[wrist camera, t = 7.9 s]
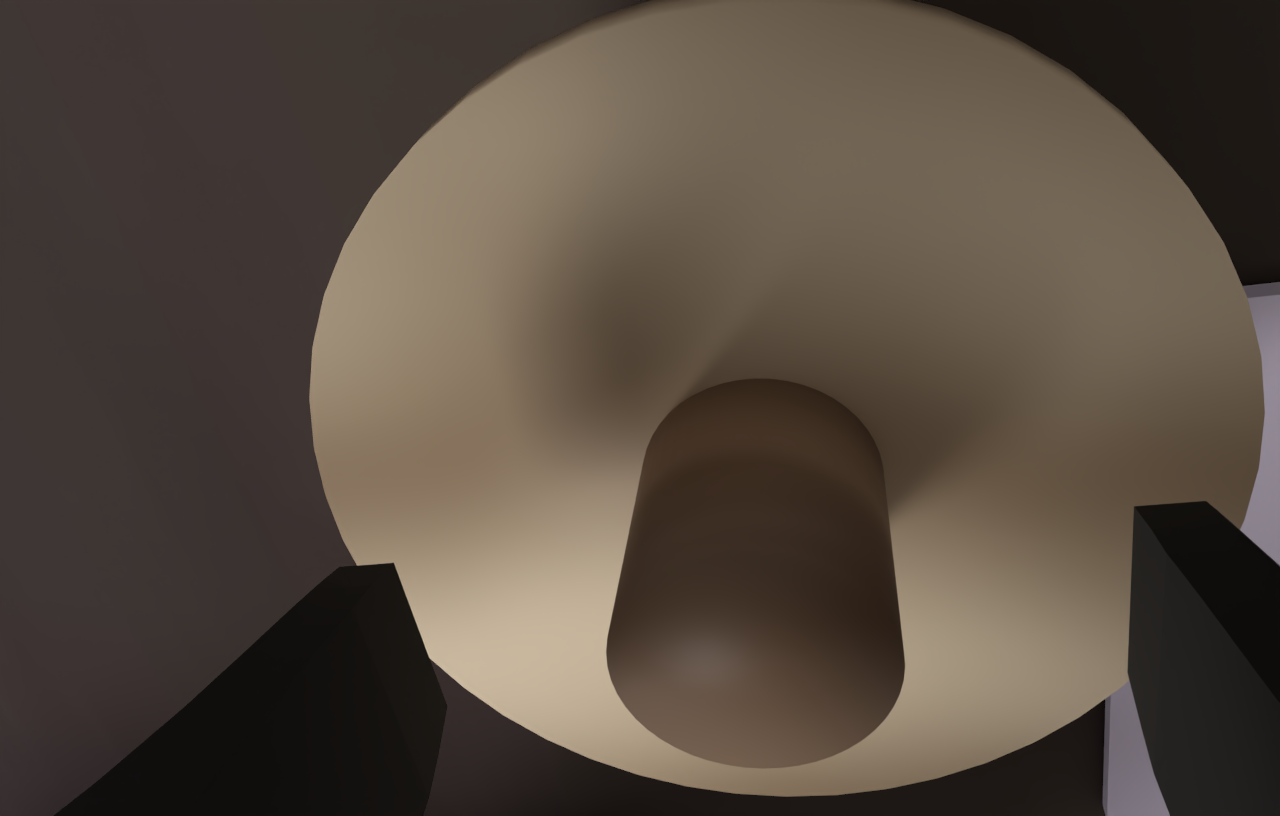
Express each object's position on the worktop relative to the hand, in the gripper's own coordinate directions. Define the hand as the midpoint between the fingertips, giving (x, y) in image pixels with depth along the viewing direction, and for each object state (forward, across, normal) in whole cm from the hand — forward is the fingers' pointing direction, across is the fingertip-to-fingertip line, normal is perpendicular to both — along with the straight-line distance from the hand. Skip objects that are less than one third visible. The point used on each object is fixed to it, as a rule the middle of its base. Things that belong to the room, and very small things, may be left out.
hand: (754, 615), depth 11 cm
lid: (+4, 0, 0) cm, 4 cm away
